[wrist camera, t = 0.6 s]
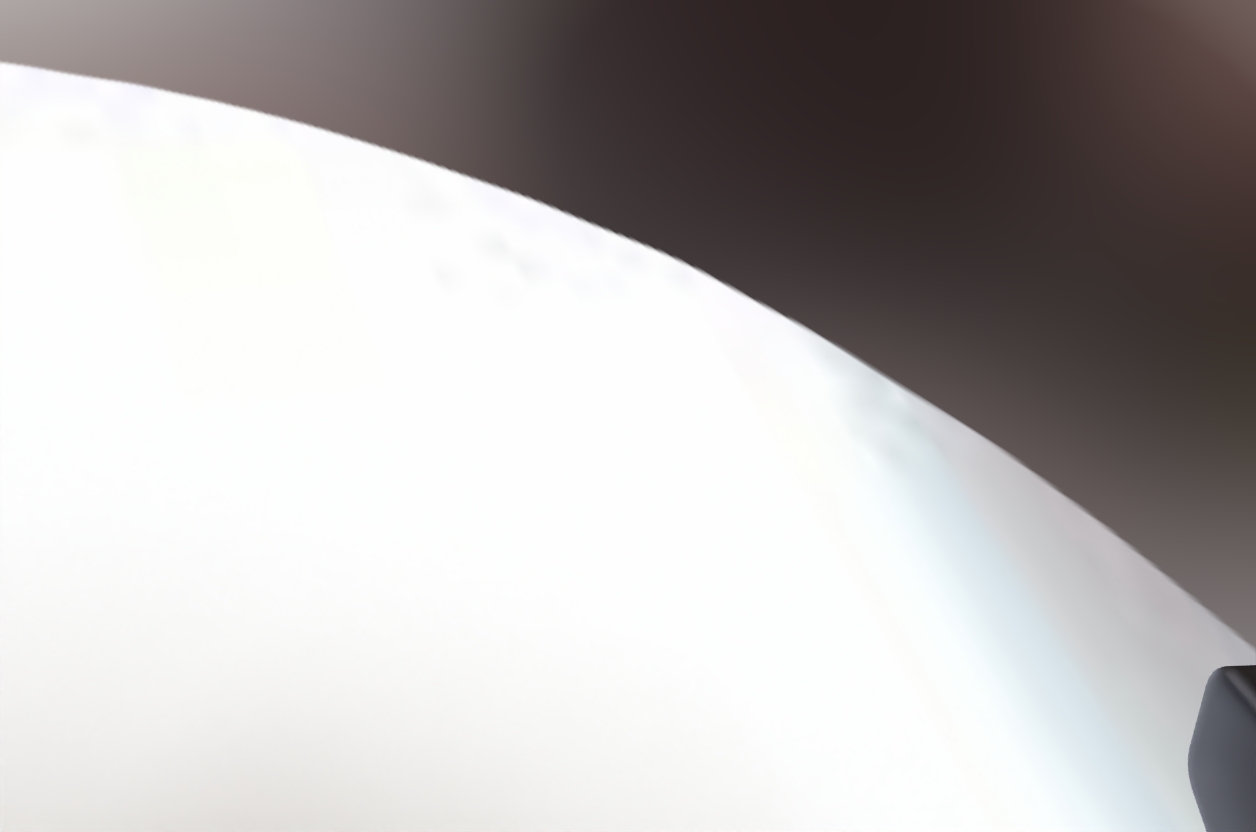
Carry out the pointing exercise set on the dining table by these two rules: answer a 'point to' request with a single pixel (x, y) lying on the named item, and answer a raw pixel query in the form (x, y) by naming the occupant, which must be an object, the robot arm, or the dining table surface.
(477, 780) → the dining table surface
